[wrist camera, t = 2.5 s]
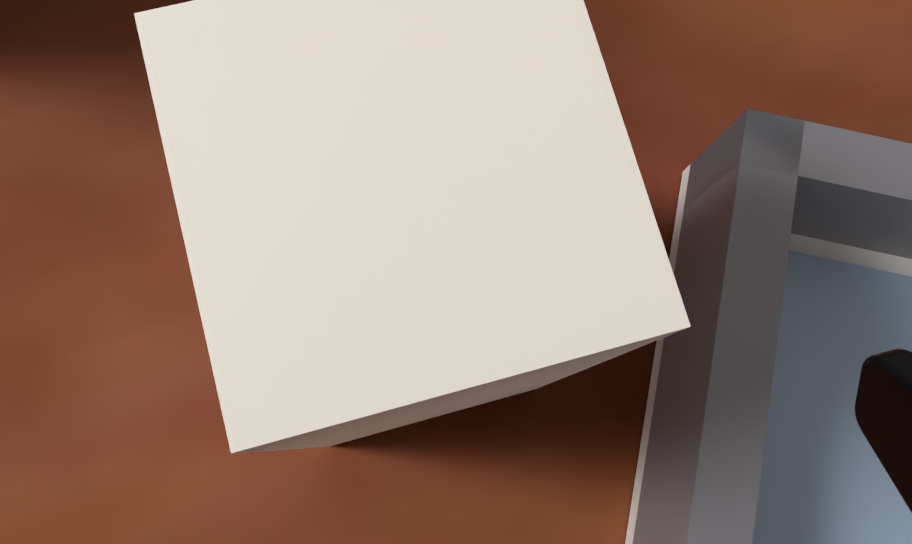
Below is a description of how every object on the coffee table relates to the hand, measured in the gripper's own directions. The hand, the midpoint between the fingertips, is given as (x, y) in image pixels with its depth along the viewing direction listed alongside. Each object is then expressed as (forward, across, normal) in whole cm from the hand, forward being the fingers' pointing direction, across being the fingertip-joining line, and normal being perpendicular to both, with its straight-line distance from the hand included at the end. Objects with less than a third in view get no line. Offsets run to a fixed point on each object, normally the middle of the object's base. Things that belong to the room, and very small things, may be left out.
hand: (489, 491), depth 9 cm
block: (+10, 0, +5) cm, 11 cm away
